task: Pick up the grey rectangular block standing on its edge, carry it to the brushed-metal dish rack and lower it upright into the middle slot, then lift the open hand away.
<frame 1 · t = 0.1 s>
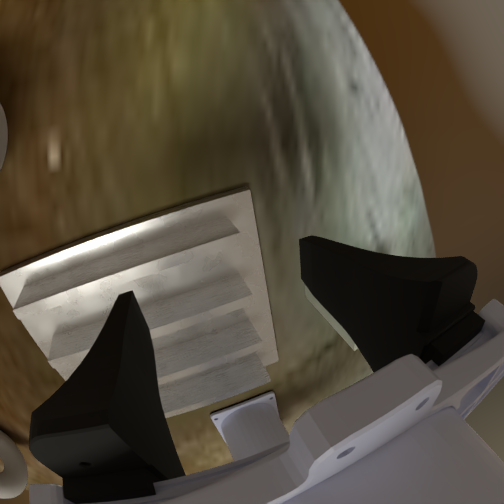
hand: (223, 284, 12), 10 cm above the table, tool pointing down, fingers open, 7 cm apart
grey rectangular block: (340, 274, 29), on the table
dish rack: (151, 325, 24), on the table
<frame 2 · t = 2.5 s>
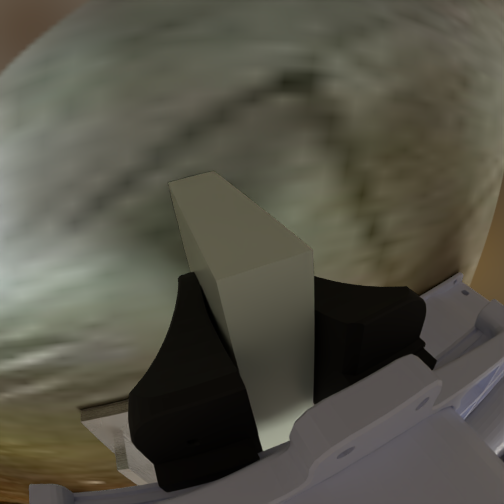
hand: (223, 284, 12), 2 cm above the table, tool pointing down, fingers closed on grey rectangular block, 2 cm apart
grey rectangular block: (208, 258, 14), on the table, touching gripper
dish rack: (234, 441, 23), on the table
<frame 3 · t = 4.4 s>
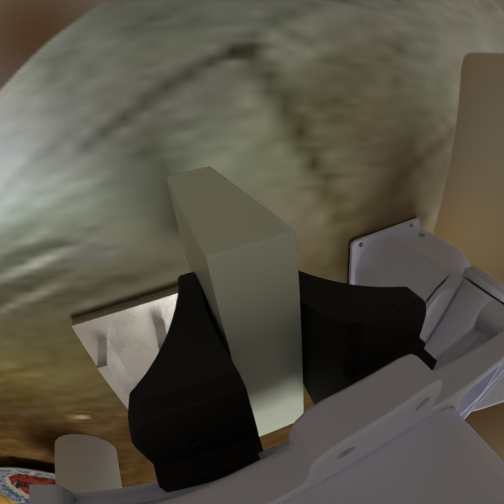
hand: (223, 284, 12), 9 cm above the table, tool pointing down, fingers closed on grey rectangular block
ceramic plate: (56, 488, 30), on the table
white cylinder: (85, 448, 27), on the table
grey rectangular block: (205, 250, 15), point 6 cm above the table, touching gripper
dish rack: (209, 369, 27), on the table
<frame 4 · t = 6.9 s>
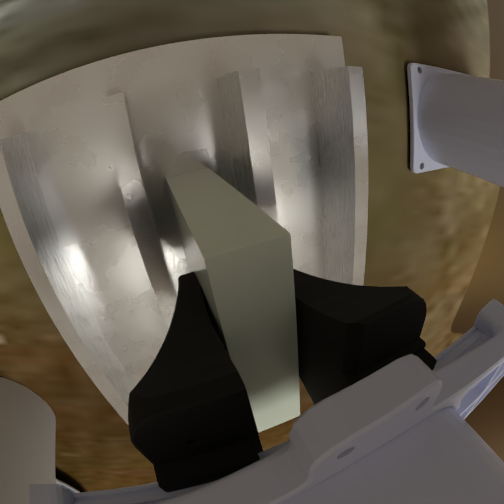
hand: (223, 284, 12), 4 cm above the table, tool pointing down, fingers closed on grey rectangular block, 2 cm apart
white cylinder: (11, 407, 16), on the table
grey rectangular block: (204, 250, 15), point 1 cm above the table, touching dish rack, gripper
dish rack: (200, 241, 16), on the table
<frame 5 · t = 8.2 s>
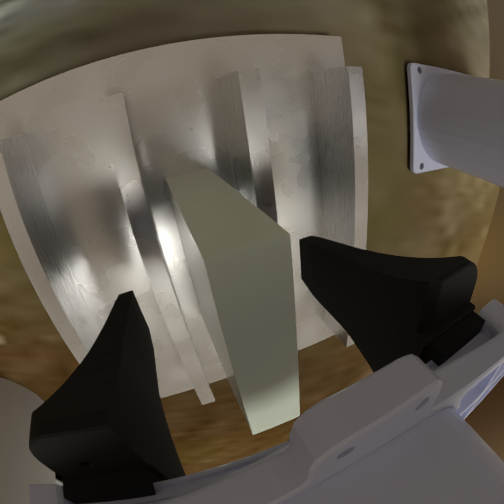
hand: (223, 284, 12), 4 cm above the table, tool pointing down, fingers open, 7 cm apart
white cylinder: (11, 407, 16), on the table
grey rectangular block: (204, 250, 15), point 1 cm above the table, touching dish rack
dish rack: (200, 241, 16), on the table
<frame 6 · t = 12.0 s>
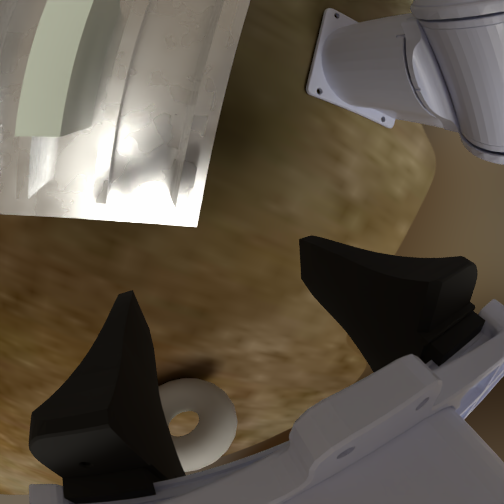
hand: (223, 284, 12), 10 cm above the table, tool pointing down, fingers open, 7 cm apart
grey rectangular block: (88, 64, 14), point 1 cm above the table, touching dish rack
donut: (172, 382, 28), on the table
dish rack: (91, 65, 14), on the table
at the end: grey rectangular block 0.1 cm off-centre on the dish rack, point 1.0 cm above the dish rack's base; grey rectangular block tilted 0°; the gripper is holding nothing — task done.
